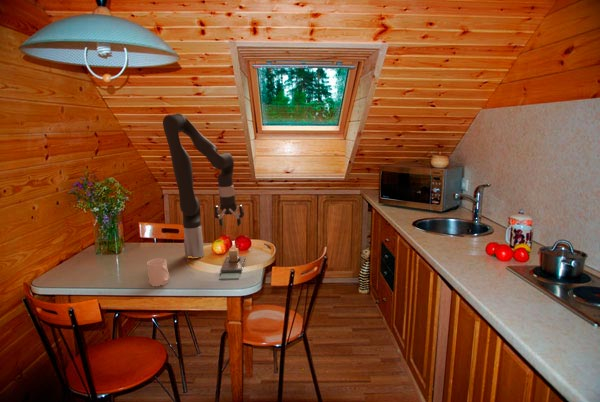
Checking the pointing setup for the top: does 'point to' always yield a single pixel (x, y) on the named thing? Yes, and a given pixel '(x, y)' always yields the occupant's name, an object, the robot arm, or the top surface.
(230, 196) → the robot arm
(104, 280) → the top surface
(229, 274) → the pad
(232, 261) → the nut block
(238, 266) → the rail plate
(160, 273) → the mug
